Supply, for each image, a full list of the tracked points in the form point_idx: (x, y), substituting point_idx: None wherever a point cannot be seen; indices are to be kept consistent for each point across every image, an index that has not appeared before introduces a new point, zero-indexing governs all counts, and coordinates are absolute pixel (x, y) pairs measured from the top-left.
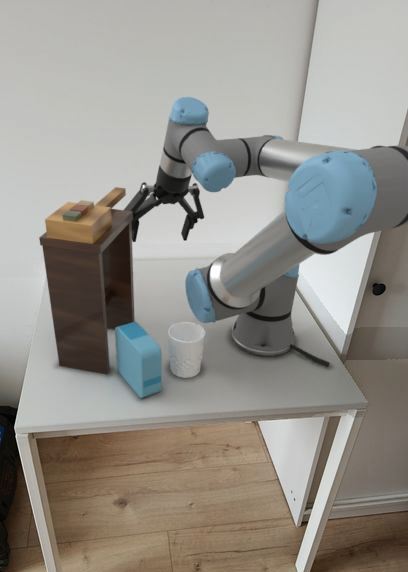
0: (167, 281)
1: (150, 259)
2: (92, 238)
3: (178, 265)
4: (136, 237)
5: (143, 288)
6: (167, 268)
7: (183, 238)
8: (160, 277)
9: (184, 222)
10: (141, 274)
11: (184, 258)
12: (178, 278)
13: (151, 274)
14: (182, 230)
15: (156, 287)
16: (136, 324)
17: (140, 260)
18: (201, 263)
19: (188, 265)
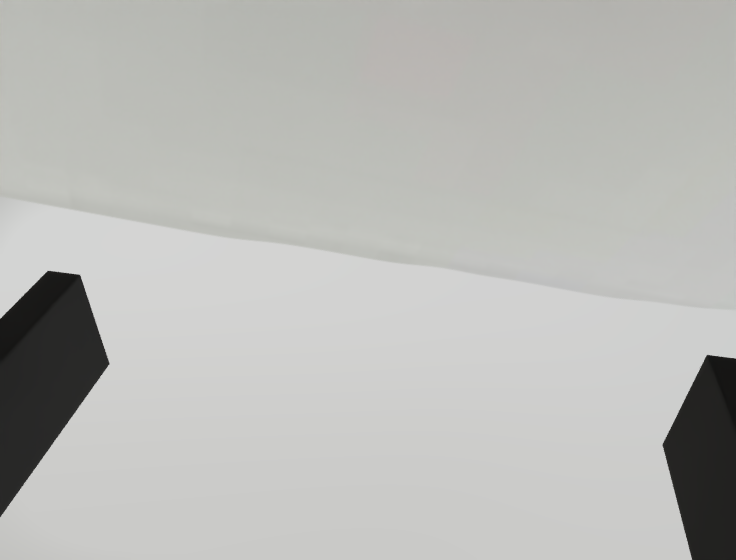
0: (306, 73)
1: (347, 252)
2: None
3: (222, 191)
4: (731, 418)
5: (482, 35)
6: (282, 181)
7: (78, 301)
8: (338, 120)
9: (5, 502)
10: (432, 166)
11: (188, 228)
12: (234, 87)
13: (380, 155)
14: (76, 394)
15: (394, 26)
16: None
17: (394, 255)
18: (101, 181)
19: (169, 180)
